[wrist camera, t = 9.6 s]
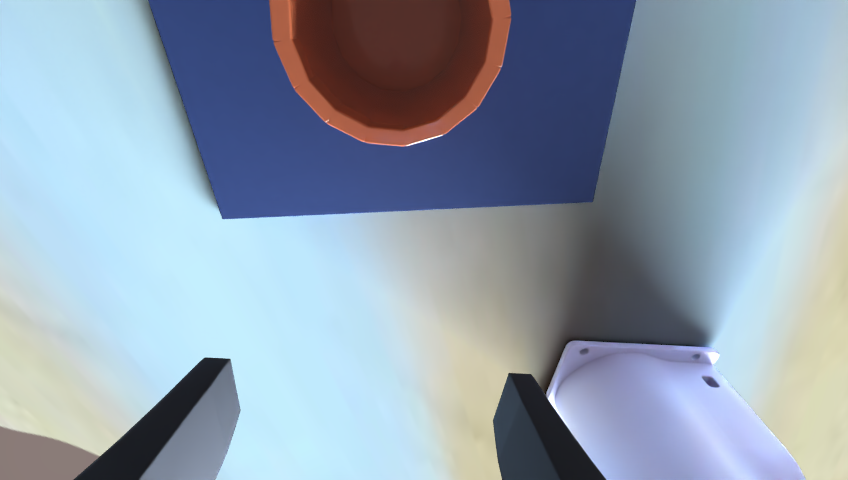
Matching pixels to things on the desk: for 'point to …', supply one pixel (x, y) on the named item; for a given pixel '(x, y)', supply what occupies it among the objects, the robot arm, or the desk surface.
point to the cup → (391, 62)
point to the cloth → (394, 165)
